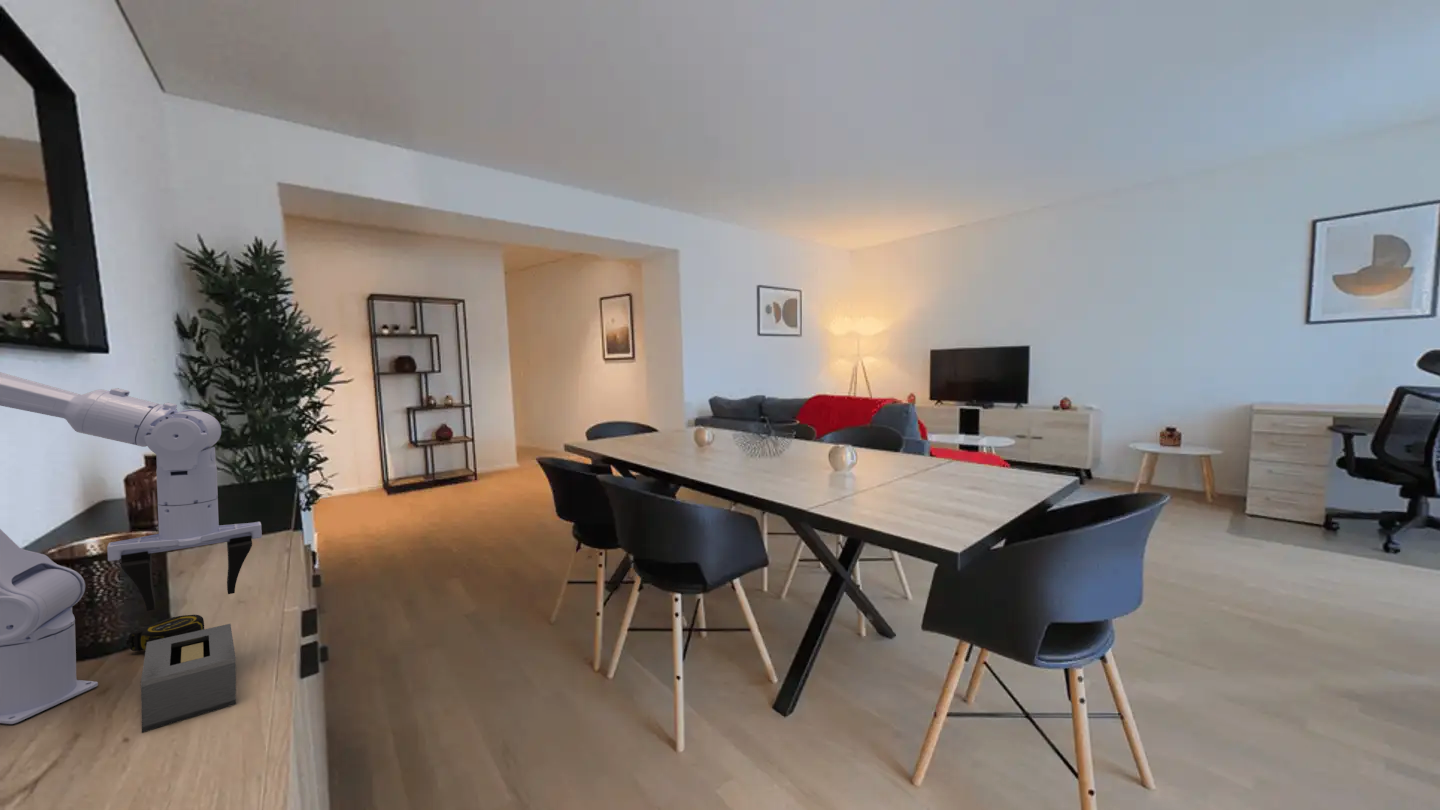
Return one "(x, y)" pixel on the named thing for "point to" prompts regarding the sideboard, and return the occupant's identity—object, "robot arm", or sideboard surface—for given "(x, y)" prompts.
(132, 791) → the sideboard surface
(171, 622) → the tape measure
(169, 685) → the coin box
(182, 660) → the wooden rectangular block
